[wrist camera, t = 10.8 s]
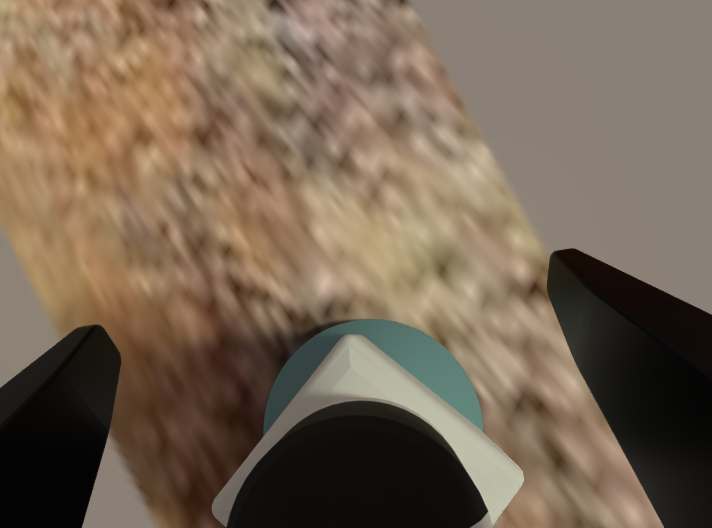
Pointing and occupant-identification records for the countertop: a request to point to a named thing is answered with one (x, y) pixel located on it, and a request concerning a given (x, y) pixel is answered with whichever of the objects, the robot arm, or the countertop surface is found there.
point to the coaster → (400, 345)
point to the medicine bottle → (369, 456)
